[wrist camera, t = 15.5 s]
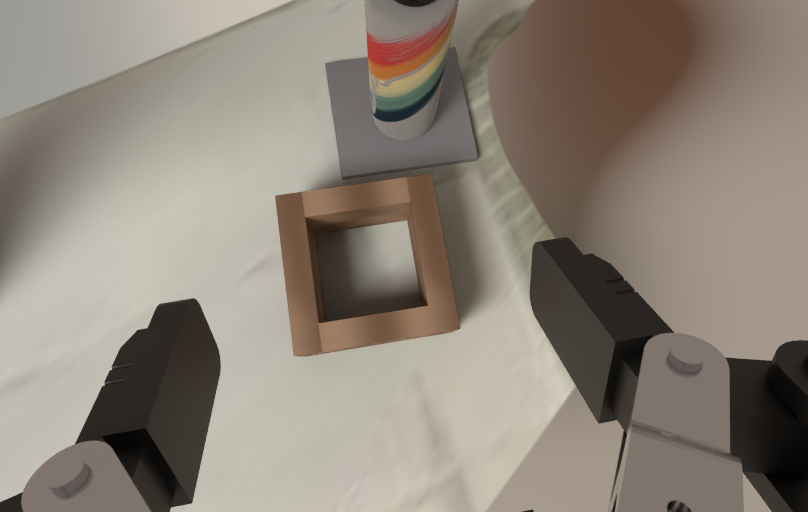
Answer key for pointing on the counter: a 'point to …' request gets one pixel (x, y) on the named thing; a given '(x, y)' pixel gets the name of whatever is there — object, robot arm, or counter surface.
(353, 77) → the rubber mat
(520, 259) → the counter surface
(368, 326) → the bottle holder
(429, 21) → the lotion bottle
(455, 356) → the counter surface
